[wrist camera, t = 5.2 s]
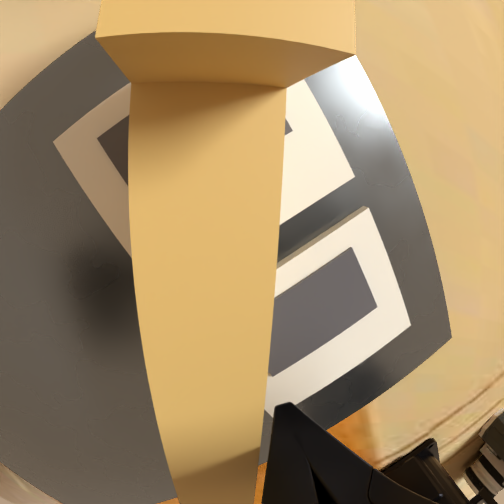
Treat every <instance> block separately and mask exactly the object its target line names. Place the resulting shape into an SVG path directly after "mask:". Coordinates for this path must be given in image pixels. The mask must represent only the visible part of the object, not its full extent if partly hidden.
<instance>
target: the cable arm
mask: <svg viewBox="0 0 504 504" xmlns="http://www.w3.org/2000/svg"><path fill="white" fill-rule="evenodd" d="M95 38H96V40H97V41H98V42H99V43H100V45H101V46H102V47H103V48H104V50H105V51H106V52H107V53H108V55H109V56H110V57H111V59H112V60H113V61H114V62H115V64H116V65H117V66H118V67H119V69H120V70H121V71H122V72H123V74H124V75H125V76H126V77H127V79H128V80H129V81H130V82H131V94H130V111H129V139H128V192H129V220H130V238H131V252H132V265H133V276H134V286H135V295H136V304H137V312H138V319H139V327H140V334H141V340H142V347H143V353H144V359H145V365H146V370H147V376H148V381H149V386H150V391H151V396H152V401H153V406H154V410H155V415H156V419H157V424H158V428H159V432H160V436H161V440H162V444H163V448H164V452H165V456H166V459H167V463H168V467H169V470H170V474H171V477H172V480H173V484H174V487H175V490H176V493H177V497H178V500H179V503H180V504H254V496H255V488H256V480H257V471H258V463H259V454H260V445H261V435H262V426H263V416H264V407H265V397H266V386H267V376H268V365H269V354H270V343H271V331H272V319H273V307H274V295H275V282H276V268H277V255H278V240H279V225H280V210H281V193H282V176H283V158H284V138H285V116H286V92H287V88H288V87H290V86H292V85H293V84H295V83H297V82H299V81H301V80H303V79H305V78H307V77H309V76H311V75H313V74H315V73H317V72H319V71H321V70H324V69H326V68H328V67H330V66H332V65H334V64H336V63H339V62H341V61H343V60H345V59H347V58H350V57H352V56H354V55H356V27H355V4H354V0H102V1H101V6H100V11H99V17H98V22H97V28H96V34H95Z"/></svg>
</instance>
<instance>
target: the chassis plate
mask: <svg viewBox="0 0 504 504" xmlns="http://www.w3.org/2000/svg"><path fill="white" fill-rule="evenodd" d="M95 34H96V31H94V32H93V33H91V34H90V35H88V36H87V37H86V38H84V39H83V40H81V41H80V42H78V43H77V44H76V45H74V46H73V47H72V48H70V49H69V50H68V51H66V52H65V53H64V54H62V55H61V56H60V57H59V58H57V59H56V60H55V61H54V62H52V63H51V64H50V65H49V66H48V67H46V68H45V69H44V70H43V71H42V72H40V73H39V74H38V75H37V76H36V77H35V78H34V79H33V80H31V81H30V82H29V83H28V84H27V85H26V86H25V87H24V88H23V89H22V90H21V91H19V92H18V93H17V94H16V95H15V96H14V97H13V98H12V99H11V100H10V101H9V102H8V103H7V104H6V105H5V106H4V107H3V108H2V109H1V110H0V462H1V463H2V464H4V465H5V466H6V467H8V468H9V469H10V470H12V471H13V472H14V473H16V474H17V475H19V476H20V477H22V478H23V479H24V480H26V481H27V482H29V483H30V484H32V485H33V486H35V487H36V488H38V489H40V490H41V491H43V492H44V493H46V494H48V495H49V496H51V497H53V498H54V499H56V500H58V501H60V502H61V503H63V504H156V503H160V502H163V501H167V500H170V499H173V498H176V497H177V493H176V490H175V487H174V484H173V480H172V477H171V474H170V470H169V467H168V463H167V459H166V456H165V452H164V448H163V444H162V440H161V436H160V432H159V428H158V424H157V419H156V415H155V410H154V406H153V401H152V396H151V391H150V386H149V381H148V376H147V370H146V365H145V359H144V353H143V347H142V340H141V334H140V327H139V319H138V312H137V304H136V295H135V286H134V276H133V265H132V258H131V257H130V255H129V254H128V253H127V251H126V250H125V249H124V247H123V246H122V245H121V243H120V242H119V240H118V239H117V238H116V236H115V235H114V234H113V232H112V231H111V229H110V228H109V227H108V225H107V224H106V222H105V221H104V220H103V218H102V217H101V215H100V214H99V212H98V211H97V210H96V208H95V207H94V205H93V204H92V202H91V201H90V199H89V198H88V196H87V195H86V193H85V192H84V190H83V189H82V187H81V186H80V184H79V183H78V181H77V180H76V178H75V177H74V175H73V174H72V172H71V170H70V169H69V167H68V166H67V164H66V163H65V161H64V159H63V158H62V156H61V155H60V153H59V151H58V150H57V148H56V146H55V145H54V143H53V141H54V140H55V139H57V138H58V137H59V136H60V135H61V134H62V133H64V132H65V131H66V130H67V129H68V128H70V127H71V126H72V125H73V124H74V123H76V122H77V121H78V120H79V119H81V118H82V117H83V116H84V115H86V114H87V113H88V112H90V111H91V110H92V109H93V108H95V107H96V106H97V105H99V104H100V103H101V102H103V101H104V100H106V99H107V98H108V97H110V96H111V95H113V94H114V93H115V92H117V91H118V90H120V89H121V88H123V87H124V86H126V85H127V84H129V83H130V81H129V80H128V79H127V77H126V76H125V75H124V74H123V72H122V71H121V70H120V69H119V67H118V66H117V65H116V64H115V62H114V61H113V60H112V59H111V57H110V56H109V55H108V53H107V52H106V51H105V50H104V48H103V47H102V46H101V45H100V43H99V42H98V41H97V40H96V38H95ZM304 80H305V82H306V83H307V85H308V87H309V89H310V90H311V92H312V94H313V96H314V97H315V99H316V101H317V103H318V105H319V106H320V108H321V110H322V112H323V114H324V116H325V117H326V119H327V121H328V123H329V125H330V127H331V129H332V131H333V133H334V135H335V137H336V139H337V141H338V142H339V144H340V147H341V149H342V151H343V153H344V155H345V157H346V159H347V161H348V163H349V165H350V167H351V169H352V171H353V174H354V176H355V177H354V178H352V179H351V180H349V181H348V182H346V183H344V184H343V185H341V186H340V187H338V188H337V189H335V190H333V191H332V192H330V193H329V194H327V195H326V196H324V197H323V198H321V199H319V200H318V201H316V202H315V203H313V204H312V205H310V206H309V207H307V208H305V209H304V210H302V211H301V212H299V213H298V214H296V215H295V216H293V217H291V218H290V219H288V220H287V221H285V222H284V223H282V224H281V225H279V240H278V255H277V263H278V262H279V261H281V260H282V259H284V258H286V257H287V256H289V255H290V254H292V253H293V252H295V251H296V250H298V249H299V248H301V247H302V246H304V245H305V244H307V243H308V242H310V241H311V240H313V239H314V238H316V237H317V236H319V235H320V234H322V233H323V232H325V231H326V230H328V229H329V228H331V227H332V226H334V225H335V224H337V223H338V222H340V221H341V220H343V219H344V218H346V217H347V216H349V215H350V214H352V213H353V212H355V211H356V210H358V209H359V208H361V207H362V206H365V207H368V208H369V210H370V212H371V214H372V217H373V219H374V222H375V224H376V227H377V229H378V232H379V234H380V237H381V239H382V242H383V244H384V247H385V250H386V252H387V255H388V258H389V260H390V263H391V266H392V269H393V271H394V274H395V277H396V280H397V283H398V286H399V289H400V292H401V295H402V298H403V301H404V304H405V307H406V310H407V314H408V317H409V320H410V324H411V326H409V327H408V328H407V329H406V330H404V331H403V332H402V333H400V334H399V335H398V336H397V337H395V338H394V339H393V340H391V341H390V342H389V343H387V344H386V345H385V346H383V347H382V348H381V349H379V350H378V351H377V352H375V353H374V354H373V355H371V356H370V357H368V358H367V359H366V360H364V361H363V362H361V363H360V364H358V365H357V366H356V367H354V368H353V369H351V370H350V371H348V372H347V373H345V374H344V375H342V376H341V377H339V378H338V379H336V380H335V381H333V382H332V383H330V384H328V385H327V386H325V387H324V388H322V389H321V390H319V391H317V392H316V393H314V394H313V395H311V396H309V397H308V398H306V399H304V400H303V401H301V402H299V403H298V404H296V406H297V407H298V408H299V409H300V410H302V411H303V412H304V413H305V414H306V415H308V416H309V417H310V418H311V419H312V420H314V421H315V422H316V423H317V424H319V425H320V426H321V427H322V428H323V429H325V430H327V429H329V428H331V427H332V426H334V425H336V424H337V423H339V422H340V421H342V420H344V419H345V418H347V417H348V416H350V415H351V414H353V413H355V412H356V411H358V410H359V409H361V408H362V407H364V406H365V405H367V404H368V403H370V402H371V401H372V400H374V399H375V398H377V397H378V396H380V395H381V394H382V393H384V392H385V391H387V390H388V389H389V388H391V387H392V386H393V385H395V384H396V383H397V382H399V381H400V380H401V379H403V378H404V377H405V376H407V375H408V374H409V373H410V372H412V371H413V370H414V369H415V368H417V367H418V366H419V365H420V364H422V363H423V362H424V361H425V360H426V359H428V358H429V357H430V356H431V355H432V354H434V353H435V352H436V351H437V350H438V349H439V348H441V347H442V346H443V345H444V344H445V343H446V342H447V341H448V340H450V339H451V338H452V336H451V329H450V323H449V317H448V311H447V306H446V301H445V296H444V291H443V286H442V281H441V277H440V272H439V268H438V264H437V260H436V256H435V252H434V248H433V244H432V241H431V237H430V233H429V230H428V226H427V223H426V220H425V216H424V213H423V210H422V207H421V204H420V201H419V198H418V195H417V192H416V189H415V186H414V183H413V180H412V177H411V175H410V172H409V169H408V167H407V164H406V161H405V159H404V156H403V154H402V151H401V149H400V146H399V144H398V141H397V139H396V137H395V134H394V132H393V130H392V127H391V125H390V123H389V120H388V118H387V116H386V114H385V112H384V110H383V107H382V105H381V103H380V101H379V99H378V97H377V95H376V93H375V91H374V89H373V87H372V85H371V83H370V81H369V79H368V77H367V75H366V73H365V72H364V70H363V68H362V66H361V64H360V62H359V60H358V59H357V57H356V55H354V56H352V57H350V58H347V59H345V60H343V61H341V62H339V63H336V64H334V65H332V66H330V67H328V68H326V69H324V70H321V71H319V72H317V73H315V74H313V75H311V76H309V77H307V78H305V79H304ZM272 422H273V417H272V416H271V415H270V414H269V413H268V412H267V411H266V410H265V409H264V416H263V426H262V435H261V445H260V454H259V463H258V466H259V465H261V464H263V463H265V462H267V461H268V453H269V446H270V438H271V430H272Z"/></svg>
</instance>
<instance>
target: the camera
mask: <svg viewBox="0 0 504 504" xmlns="http://www.w3.org/2000/svg"><path fill="white" fill-rule="evenodd" d="M478 435H479V436H480V437H481V438H482V439H483V440H484V441H485V442H486V443H485V444H484V446H483V447H482V448H481V449H480V451H481V452H482V454H483V455H482V456H481V457H480V458H478V459H477V460H476V462H475V463H474V464H472V465H471V466H470V467H468V468H467V469H466V470H465V472H464V473H463V477H464V479H465V480H466V482H467V483H468V485H469V486H470V487H471V489H472V490H473V491H474V492H475V493H476V495H477V494H478V492H479V491H480V490H481V489H482V488H485V489H486V490H487V492H488V493H489V494H490V495H491V496H492V497H493V498H494V496H496V495H497V494H498V492H499V491H501V490H502V489H503V488H504V409H503V408H502V409H500V410H499V411H498V412H496V413H495V414H494V415H493V416H492V417H491V418H490V419H489V420H488V421H487V422H486V424H485V425H484V426H483V427H482V429H481V431H480V432H479V434H478Z"/></svg>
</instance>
